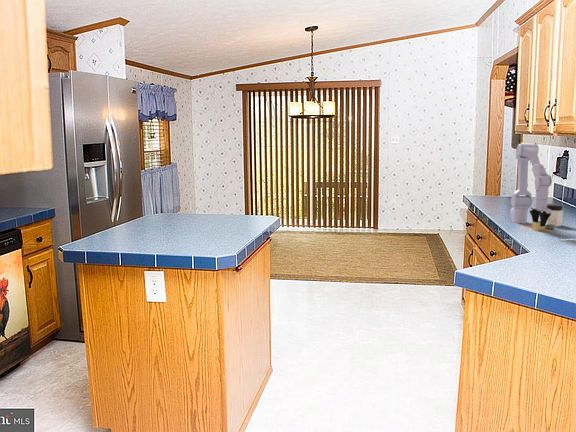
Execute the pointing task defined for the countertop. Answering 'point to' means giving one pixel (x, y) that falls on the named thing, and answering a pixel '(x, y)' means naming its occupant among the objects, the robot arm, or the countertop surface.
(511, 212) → the robot arm
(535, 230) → the gear board
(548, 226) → the gear
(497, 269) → the countertop surface
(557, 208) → the jar
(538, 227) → the brass gear
